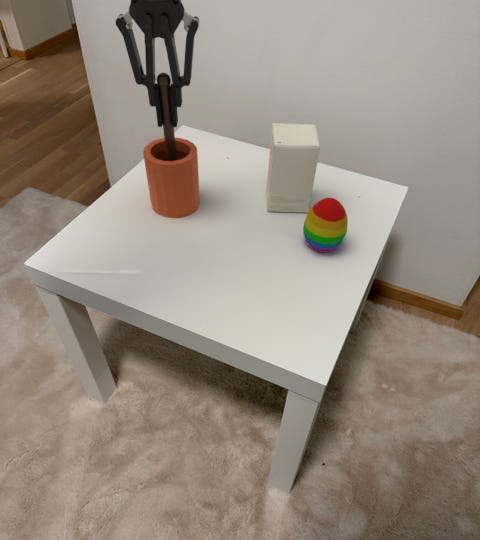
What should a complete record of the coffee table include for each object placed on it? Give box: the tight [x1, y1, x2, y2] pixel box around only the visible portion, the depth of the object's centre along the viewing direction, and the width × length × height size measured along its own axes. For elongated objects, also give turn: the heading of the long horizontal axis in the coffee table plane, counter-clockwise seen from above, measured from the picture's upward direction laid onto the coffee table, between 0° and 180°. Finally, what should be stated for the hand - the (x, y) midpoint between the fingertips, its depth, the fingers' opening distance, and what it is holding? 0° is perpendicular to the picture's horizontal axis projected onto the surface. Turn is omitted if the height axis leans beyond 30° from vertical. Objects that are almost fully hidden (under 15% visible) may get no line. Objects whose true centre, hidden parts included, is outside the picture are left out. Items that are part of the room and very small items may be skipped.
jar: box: [142, 137, 201, 219], centre depth 90 cm, size 10×10×12 cm
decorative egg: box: [302, 197, 349, 253], centre depth 83 cm, size 8×8×10 cm
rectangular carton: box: [266, 122, 321, 214], centre depth 90 cm, size 9×9×15 cm
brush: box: [156, 71, 177, 161], centre depth 84 cm, size 4×4×23 cm
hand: (168, 123), depth 82 cm, fingers closed on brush, 2 cm apart
